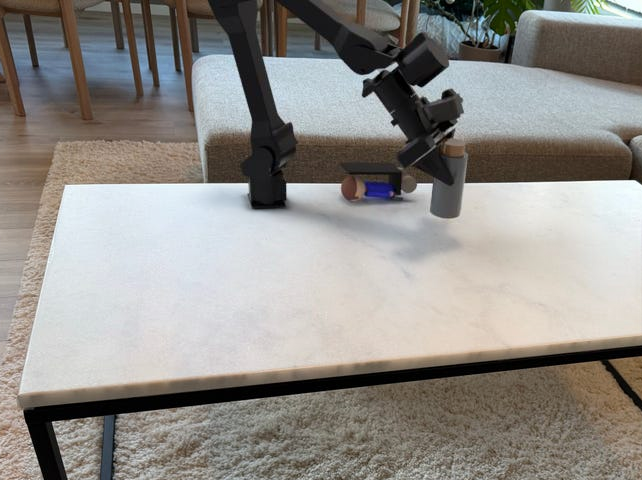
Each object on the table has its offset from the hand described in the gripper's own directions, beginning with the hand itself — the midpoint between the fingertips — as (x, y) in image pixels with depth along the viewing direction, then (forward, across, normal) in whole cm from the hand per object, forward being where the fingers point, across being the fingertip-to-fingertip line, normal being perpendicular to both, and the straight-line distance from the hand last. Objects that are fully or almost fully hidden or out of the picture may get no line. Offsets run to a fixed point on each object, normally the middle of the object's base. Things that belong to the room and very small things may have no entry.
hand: (456, 179), depth 122 cm
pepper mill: (+4, 0, +6) cm, 7 cm away
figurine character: (-4, +13, +22) cm, 26 cm away
